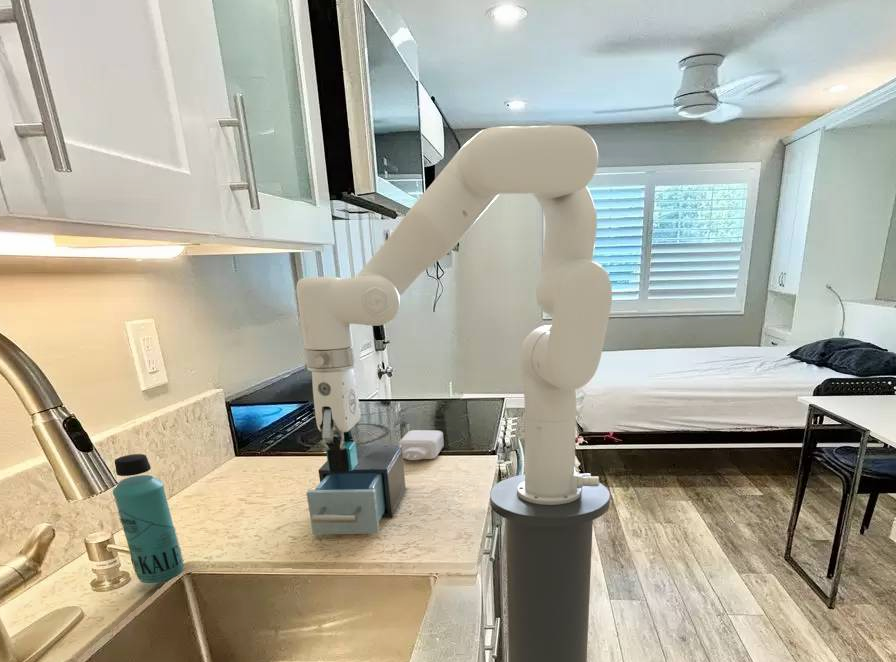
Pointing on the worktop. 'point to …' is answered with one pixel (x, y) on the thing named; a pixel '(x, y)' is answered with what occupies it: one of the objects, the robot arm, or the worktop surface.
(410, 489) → the worktop surface
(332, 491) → the light blue drawer
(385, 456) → the drawer cabinet
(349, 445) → the teal rounded cube
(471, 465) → the worktop surface
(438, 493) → the worktop surface
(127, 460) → the beverage bottle
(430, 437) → the charger
